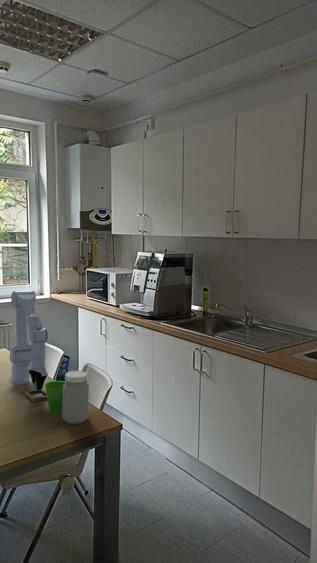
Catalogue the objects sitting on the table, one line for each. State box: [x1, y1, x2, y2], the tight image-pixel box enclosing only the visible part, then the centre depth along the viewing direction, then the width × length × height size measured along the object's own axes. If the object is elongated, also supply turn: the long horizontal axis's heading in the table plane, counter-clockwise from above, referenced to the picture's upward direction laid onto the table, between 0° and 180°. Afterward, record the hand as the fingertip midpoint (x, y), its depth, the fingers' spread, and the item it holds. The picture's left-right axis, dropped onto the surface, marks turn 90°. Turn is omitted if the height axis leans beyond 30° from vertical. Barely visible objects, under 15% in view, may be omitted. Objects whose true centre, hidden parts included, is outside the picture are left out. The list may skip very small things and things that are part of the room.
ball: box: [32, 381, 37, 390], centre depth 177 cm, size 4×4×4 cm
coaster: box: [18, 389, 31, 395], centre depth 183 cm, size 5×5×1 cm
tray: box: [23, 388, 48, 404], centre depth 177 cm, size 10×8×2 cm
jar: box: [61, 370, 90, 425], centre depth 157 cm, size 10×10×18 cm
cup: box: [44, 380, 65, 415], centre depth 164 cm, size 9×9×11 cm
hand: (37, 387), depth 177 cm, fingers closed on ball, 4 cm apart
